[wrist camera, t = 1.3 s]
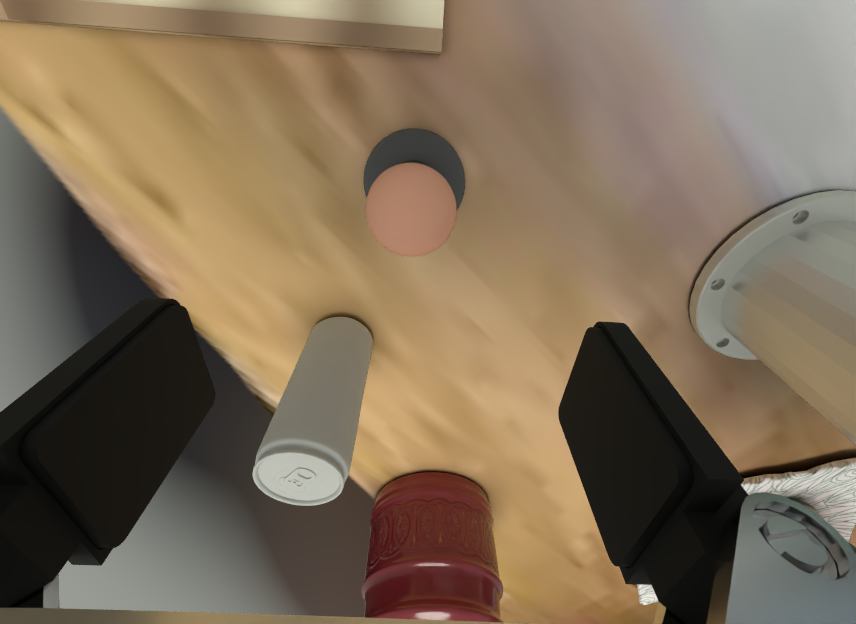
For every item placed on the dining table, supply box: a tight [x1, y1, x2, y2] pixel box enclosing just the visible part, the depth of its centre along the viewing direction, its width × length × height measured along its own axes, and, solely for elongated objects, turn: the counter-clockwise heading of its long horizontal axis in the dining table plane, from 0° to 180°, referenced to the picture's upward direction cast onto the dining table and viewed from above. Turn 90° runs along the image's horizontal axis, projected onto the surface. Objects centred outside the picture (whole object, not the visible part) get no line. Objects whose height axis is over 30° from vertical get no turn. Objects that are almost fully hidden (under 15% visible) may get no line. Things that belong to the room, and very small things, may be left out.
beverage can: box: [253, 317, 373, 506], centre depth 24 cm, size 5×5×12 cm
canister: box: [362, 472, 504, 623], centre depth 34 cm, size 13×13×18 cm
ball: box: [366, 163, 456, 257], centre depth 18 cm, size 4×4×4 cm
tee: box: [364, 129, 465, 211], centre depth 21 cm, size 6×6×3 cm
